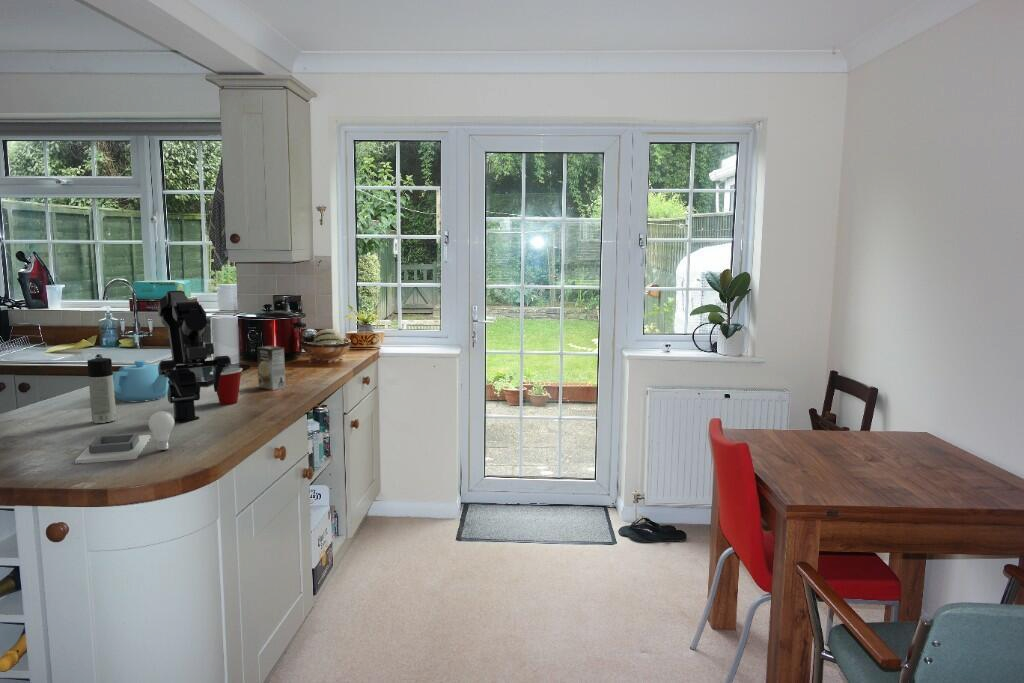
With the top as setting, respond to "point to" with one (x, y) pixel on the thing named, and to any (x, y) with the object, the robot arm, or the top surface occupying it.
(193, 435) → the top surface
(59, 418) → the top surface
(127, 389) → the teapot
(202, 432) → the top surface
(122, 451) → the bulb holder
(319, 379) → the top surface
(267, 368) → the coffee box
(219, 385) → the plastic cup
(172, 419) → the lightbulb
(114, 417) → the spray can
